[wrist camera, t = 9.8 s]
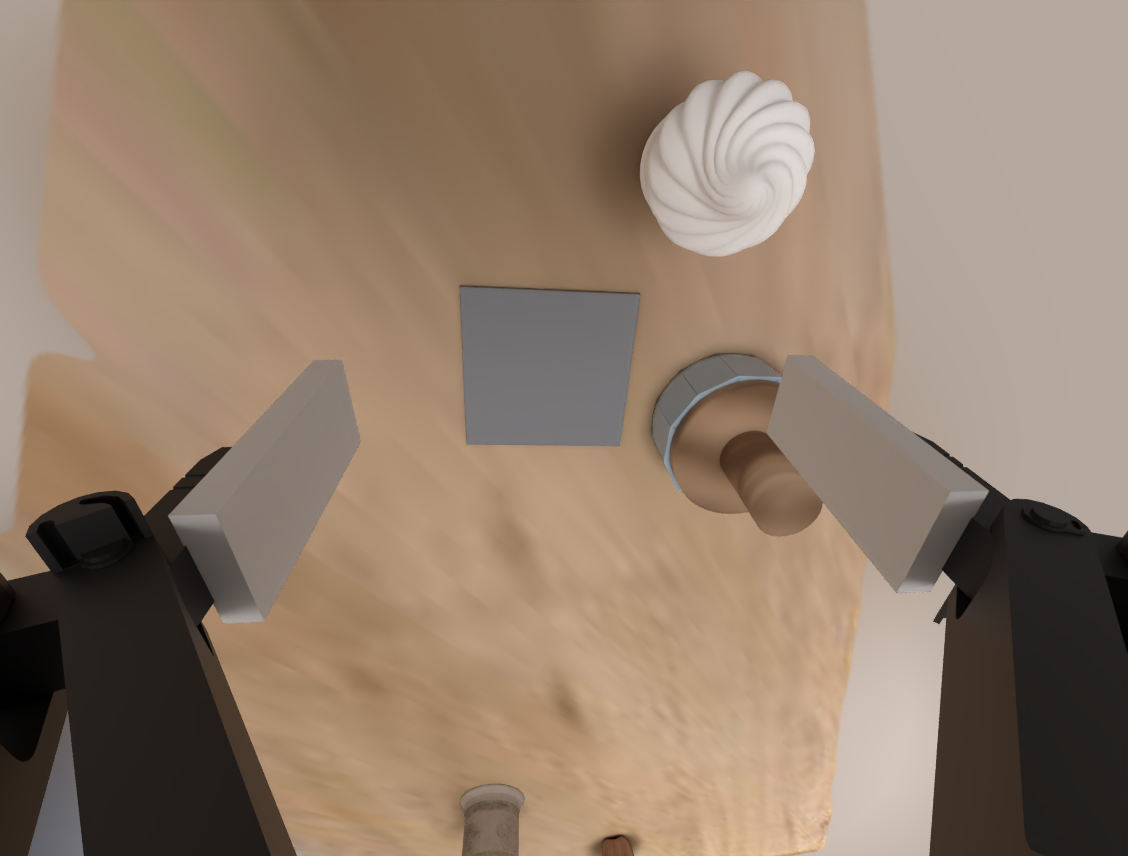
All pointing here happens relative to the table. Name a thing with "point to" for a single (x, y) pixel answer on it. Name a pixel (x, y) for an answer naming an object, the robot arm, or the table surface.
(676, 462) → the lid
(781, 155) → the soft serve ice cream cone
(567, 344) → the mat
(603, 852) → the cupcake
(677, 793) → the table surface
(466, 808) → the mug
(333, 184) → the table surface
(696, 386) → the bowl
